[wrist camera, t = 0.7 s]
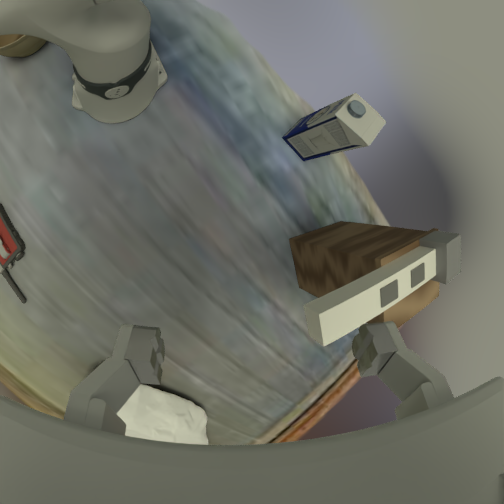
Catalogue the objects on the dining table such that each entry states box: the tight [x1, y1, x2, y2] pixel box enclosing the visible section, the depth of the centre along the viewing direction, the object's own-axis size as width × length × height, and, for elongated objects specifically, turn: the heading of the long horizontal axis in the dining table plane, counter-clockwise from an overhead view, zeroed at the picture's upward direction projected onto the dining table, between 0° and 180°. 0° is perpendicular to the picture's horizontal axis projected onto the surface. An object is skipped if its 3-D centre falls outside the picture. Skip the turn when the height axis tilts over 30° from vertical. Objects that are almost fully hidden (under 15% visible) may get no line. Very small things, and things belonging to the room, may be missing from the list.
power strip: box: [303, 231, 461, 346], centre depth 30 cm, size 6×26×5 cm, turn 105°
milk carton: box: [282, 93, 386, 161], centre depth 44 cm, size 7×7×20 cm
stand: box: [289, 221, 439, 328], centre depth 47 cm, size 12×15×26 cm
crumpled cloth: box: [117, 384, 208, 445], centre depth 47 cm, size 24×35×9 cm
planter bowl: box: [0, 34, 47, 57], centre depth 23 cm, size 16×16×11 cm
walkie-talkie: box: [0, 204, 26, 303], centre depth 34 cm, size 9×4×20 cm
